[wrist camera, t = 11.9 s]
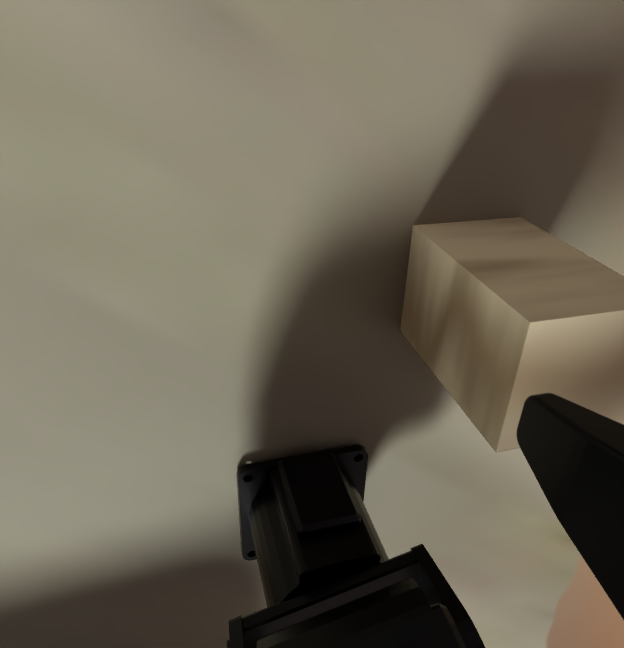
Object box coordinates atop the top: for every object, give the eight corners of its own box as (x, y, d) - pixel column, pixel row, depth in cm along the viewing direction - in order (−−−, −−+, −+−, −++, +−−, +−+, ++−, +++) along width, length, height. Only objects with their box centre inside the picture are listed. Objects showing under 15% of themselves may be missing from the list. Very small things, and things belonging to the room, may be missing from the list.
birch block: (497, 318, 26) (620, 428, 19) (399, 330, 25) (496, 452, 18) (520, 216, 24) (671, 303, 17) (412, 225, 22) (530, 322, 16)
